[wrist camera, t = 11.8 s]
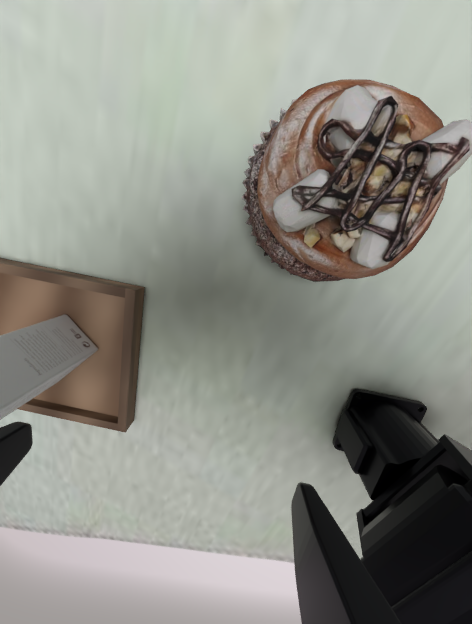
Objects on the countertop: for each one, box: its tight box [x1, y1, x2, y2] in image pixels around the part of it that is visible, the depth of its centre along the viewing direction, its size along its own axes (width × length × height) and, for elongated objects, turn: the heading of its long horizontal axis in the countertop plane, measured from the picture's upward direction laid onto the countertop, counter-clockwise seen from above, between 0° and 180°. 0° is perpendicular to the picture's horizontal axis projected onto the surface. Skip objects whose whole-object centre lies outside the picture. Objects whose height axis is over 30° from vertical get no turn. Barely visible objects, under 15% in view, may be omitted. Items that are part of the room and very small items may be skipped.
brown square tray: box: [0, 258, 145, 432], centre depth 21 cm, size 14×14×2 cm
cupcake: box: [242, 80, 472, 281], centre depth 12 cm, size 10×10×10 cm
